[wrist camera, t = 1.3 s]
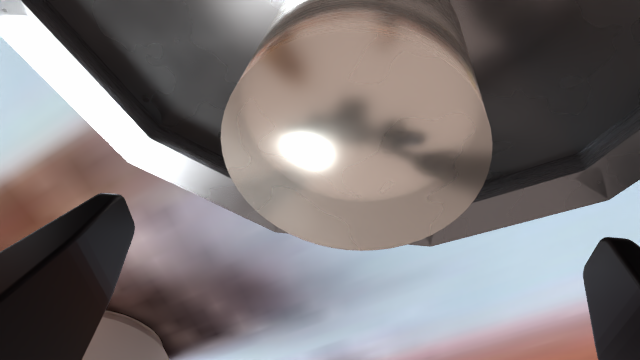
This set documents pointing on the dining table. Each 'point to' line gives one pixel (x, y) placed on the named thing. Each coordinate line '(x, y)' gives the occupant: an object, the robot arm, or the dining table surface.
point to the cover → (359, 123)
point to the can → (124, 340)
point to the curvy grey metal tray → (248, 31)
